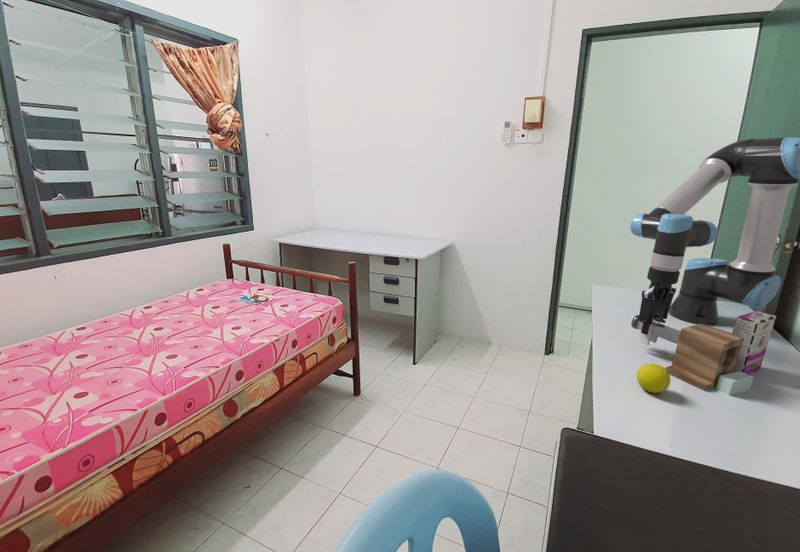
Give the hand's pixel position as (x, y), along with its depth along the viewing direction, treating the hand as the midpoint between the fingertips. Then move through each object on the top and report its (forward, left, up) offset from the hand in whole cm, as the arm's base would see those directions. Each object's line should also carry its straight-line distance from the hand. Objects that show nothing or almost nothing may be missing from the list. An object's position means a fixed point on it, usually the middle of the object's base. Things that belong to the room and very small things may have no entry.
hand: (647, 341), depth 118 cm
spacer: (0, +21, -1) cm, 21 cm away
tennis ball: (+21, +14, -3) cm, 26 cm away
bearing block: (0, +15, -3) cm, 16 cm away
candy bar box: (-15, +18, -3) cm, 24 cm away
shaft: (0, +6, +3) cm, 7 cm away
